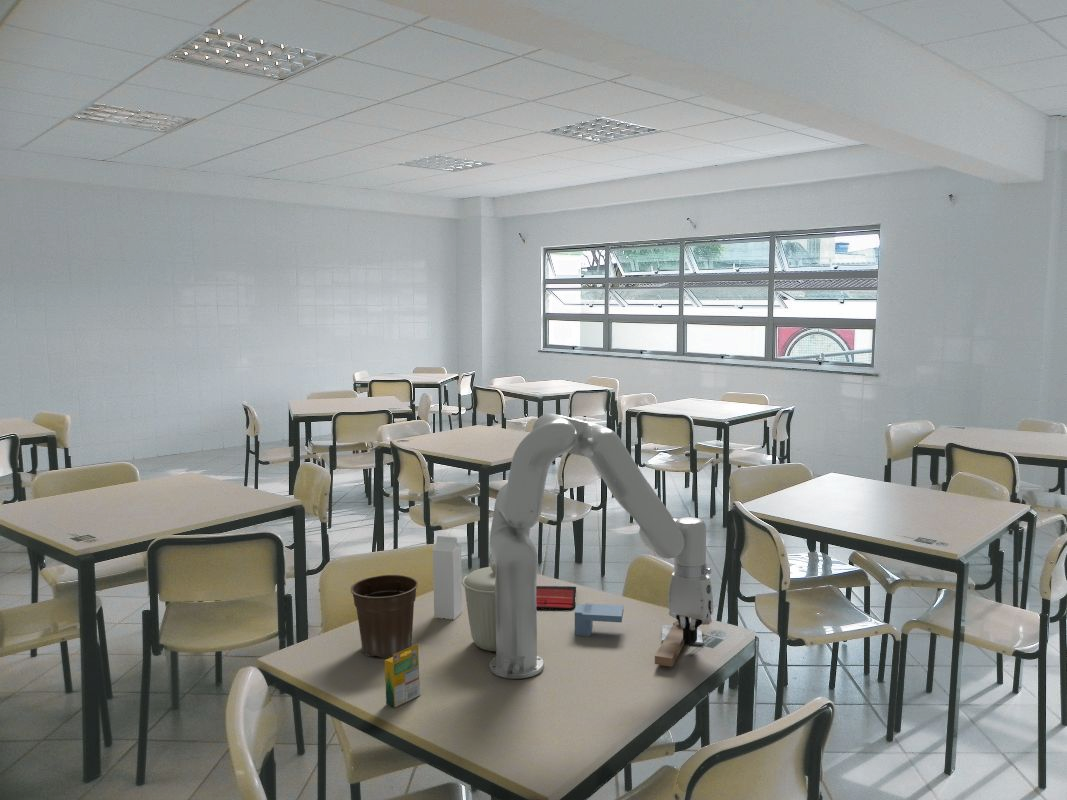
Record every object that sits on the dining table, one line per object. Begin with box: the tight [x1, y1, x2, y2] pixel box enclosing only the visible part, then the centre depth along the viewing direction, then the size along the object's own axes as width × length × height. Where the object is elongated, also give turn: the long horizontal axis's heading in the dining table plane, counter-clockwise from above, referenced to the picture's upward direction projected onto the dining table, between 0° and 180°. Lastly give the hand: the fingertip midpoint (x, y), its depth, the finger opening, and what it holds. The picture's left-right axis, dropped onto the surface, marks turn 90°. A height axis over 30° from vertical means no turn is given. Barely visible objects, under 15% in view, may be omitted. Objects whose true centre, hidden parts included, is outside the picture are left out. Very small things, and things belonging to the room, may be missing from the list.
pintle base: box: [661, 624, 704, 646], centre depth 201 cm, size 10×10×1 cm
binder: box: [536, 585, 577, 611], centre depth 229 cm, size 16×2×21 cm
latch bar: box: [654, 620, 684, 668], centre depth 192 cm, size 23×4×4 cm, turn 158°
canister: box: [462, 561, 496, 652], centre depth 197 cm, size 18×18×21 cm
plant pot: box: [350, 574, 419, 659], centre depth 195 cm, size 16×16×16 cm
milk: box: [432, 535, 463, 621], centre depth 217 cm, size 6×6×22 cm
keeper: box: [574, 602, 624, 637], centre depth 205 cm, size 8×12×6 cm, turn 80°
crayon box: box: [384, 643, 421, 709], centre depth 169 cm, size 7×3×12 cm, turn 141°
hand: (690, 643), depth 192 cm, fingers closed
